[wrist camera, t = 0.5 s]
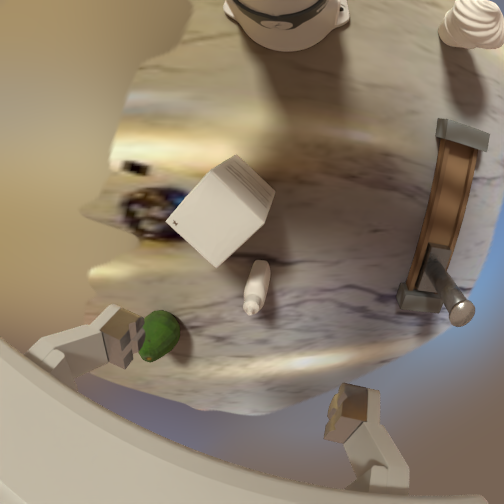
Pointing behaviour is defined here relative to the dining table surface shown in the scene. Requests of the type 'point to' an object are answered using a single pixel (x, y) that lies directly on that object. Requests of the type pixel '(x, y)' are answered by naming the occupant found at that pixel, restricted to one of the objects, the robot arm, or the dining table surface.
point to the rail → (444, 205)
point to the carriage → (444, 284)
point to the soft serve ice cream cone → (473, 25)
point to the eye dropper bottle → (256, 287)
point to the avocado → (159, 335)
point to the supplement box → (223, 210)
